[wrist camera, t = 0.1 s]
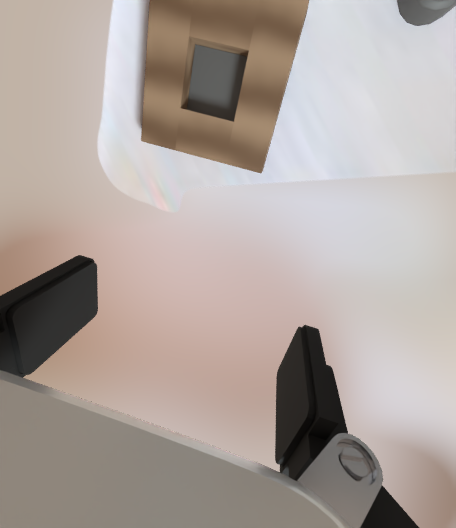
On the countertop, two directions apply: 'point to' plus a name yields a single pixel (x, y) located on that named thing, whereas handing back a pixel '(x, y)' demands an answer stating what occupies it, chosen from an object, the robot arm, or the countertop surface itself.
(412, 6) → the candle holder
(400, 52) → the countertop surface
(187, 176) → the countertop surface
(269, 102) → the socket block
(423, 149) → the countertop surface
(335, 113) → the countertop surface
